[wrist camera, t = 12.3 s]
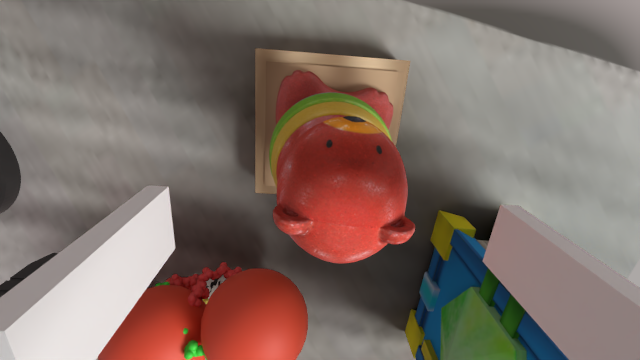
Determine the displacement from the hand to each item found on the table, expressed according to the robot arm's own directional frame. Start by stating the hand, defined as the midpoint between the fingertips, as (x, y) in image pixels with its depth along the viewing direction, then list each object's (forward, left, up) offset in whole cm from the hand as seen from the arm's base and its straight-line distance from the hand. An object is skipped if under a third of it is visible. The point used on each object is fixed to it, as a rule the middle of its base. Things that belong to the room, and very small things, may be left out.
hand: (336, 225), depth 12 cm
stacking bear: (0, 0, -19) cm, 19 cm away
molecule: (-12, -21, -23) cm, 33 cm away
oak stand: (0, 0, -23) cm, 23 cm away
